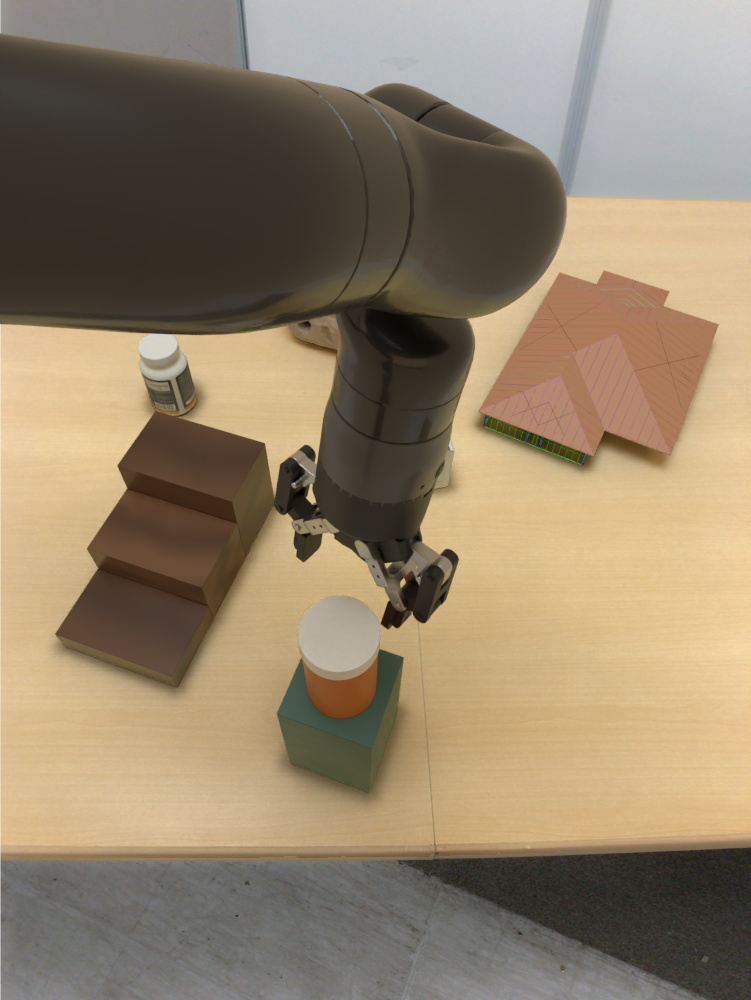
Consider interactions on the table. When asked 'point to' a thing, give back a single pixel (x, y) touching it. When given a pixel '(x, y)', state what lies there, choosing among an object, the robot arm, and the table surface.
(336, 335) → the decorative stone
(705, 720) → the table surface
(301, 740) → the stand
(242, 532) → the riser
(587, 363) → the house
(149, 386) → the pill bottle
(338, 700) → the amber bottle
